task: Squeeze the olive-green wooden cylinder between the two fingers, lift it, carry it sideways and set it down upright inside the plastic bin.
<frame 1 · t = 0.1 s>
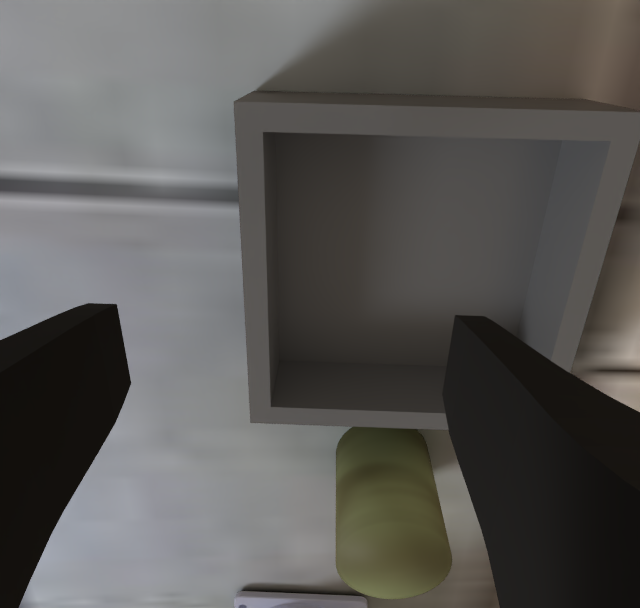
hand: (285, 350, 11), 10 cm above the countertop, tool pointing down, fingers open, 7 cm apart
green cylinder: (381, 454, 25), on the countertop
bin: (402, 249, 20), on the countertop
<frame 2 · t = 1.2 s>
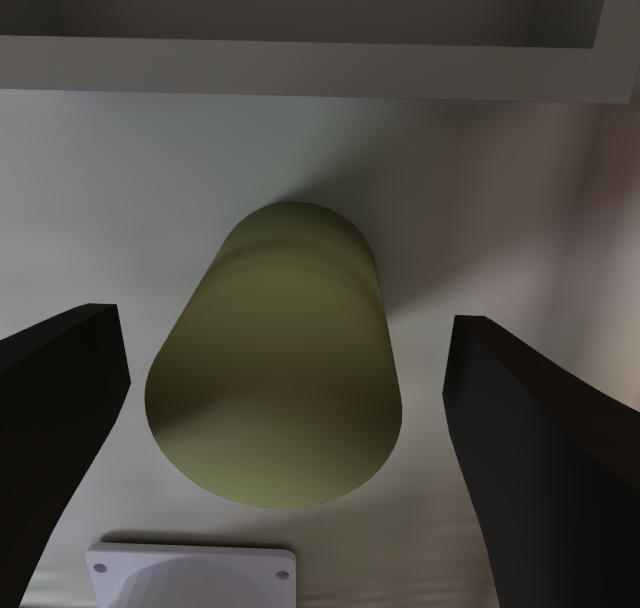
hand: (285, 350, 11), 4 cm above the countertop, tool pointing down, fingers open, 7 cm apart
green cylinder: (296, 281, 14), on the countertop
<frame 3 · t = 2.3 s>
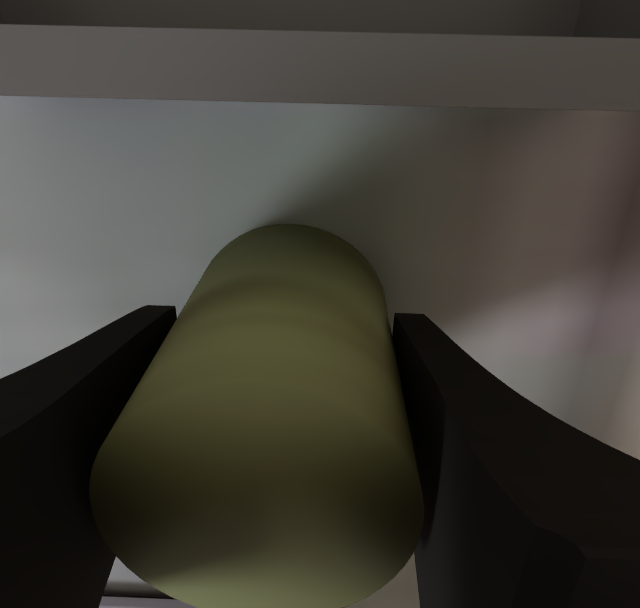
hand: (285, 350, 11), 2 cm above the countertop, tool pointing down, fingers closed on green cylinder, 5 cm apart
green cylinder: (291, 314, 12), on the countertop, touching gripper
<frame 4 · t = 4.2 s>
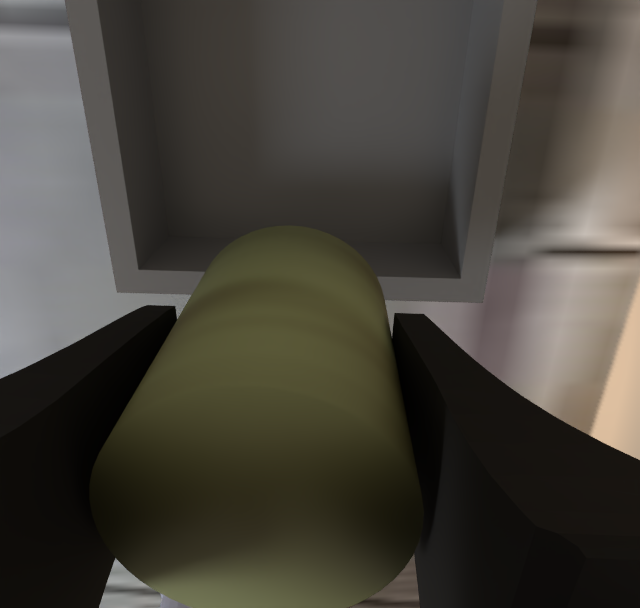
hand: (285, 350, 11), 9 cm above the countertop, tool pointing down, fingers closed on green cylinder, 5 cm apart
green cylinder: (291, 315, 12), point 7 cm above the countertop, touching gripper
bin: (306, 90, 17), on the countertop
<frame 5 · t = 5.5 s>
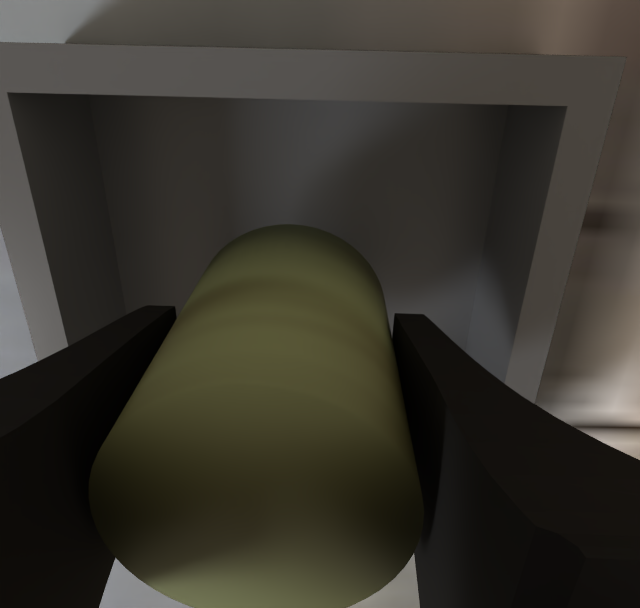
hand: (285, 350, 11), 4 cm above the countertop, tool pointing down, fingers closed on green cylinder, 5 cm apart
green cylinder: (291, 314, 12), point 3 cm above the countertop, touching gripper
bin: (299, 270, 15), on the countertop
when the fingers open (4 cm above the countertop, at t = 6.2 s): green cylinder drops 2 cm, resting on bin.
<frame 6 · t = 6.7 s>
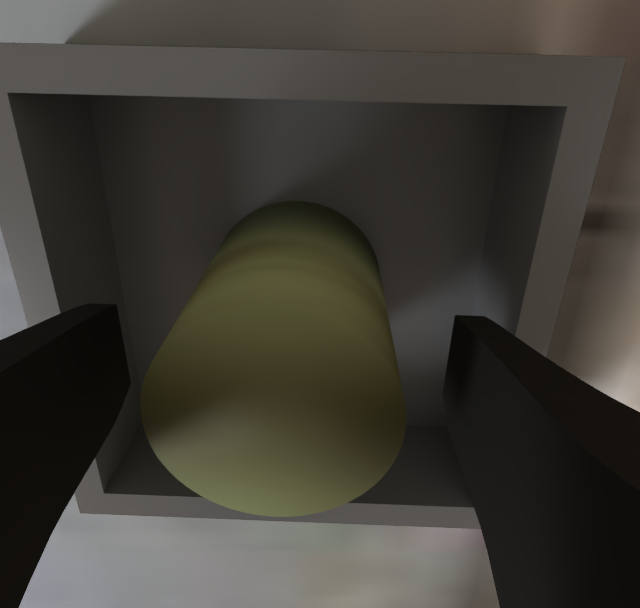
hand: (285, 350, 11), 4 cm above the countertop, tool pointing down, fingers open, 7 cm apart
green cylinder: (297, 281, 14), point 1 cm above the countertop, touching bin
bin: (299, 270, 15), on the countertop
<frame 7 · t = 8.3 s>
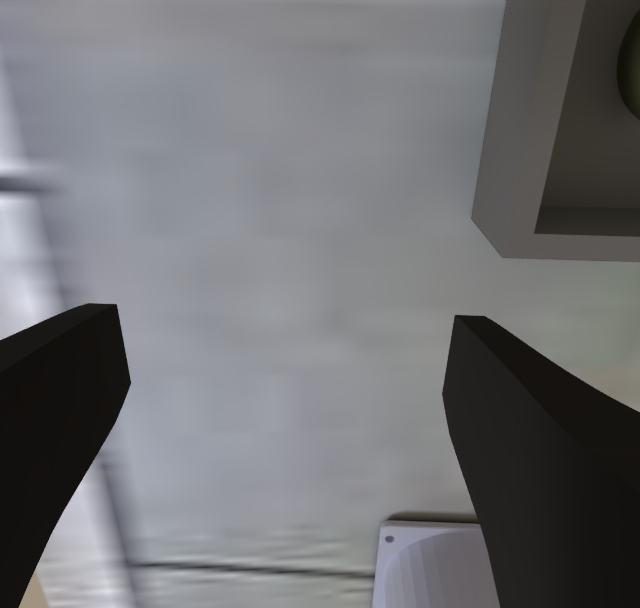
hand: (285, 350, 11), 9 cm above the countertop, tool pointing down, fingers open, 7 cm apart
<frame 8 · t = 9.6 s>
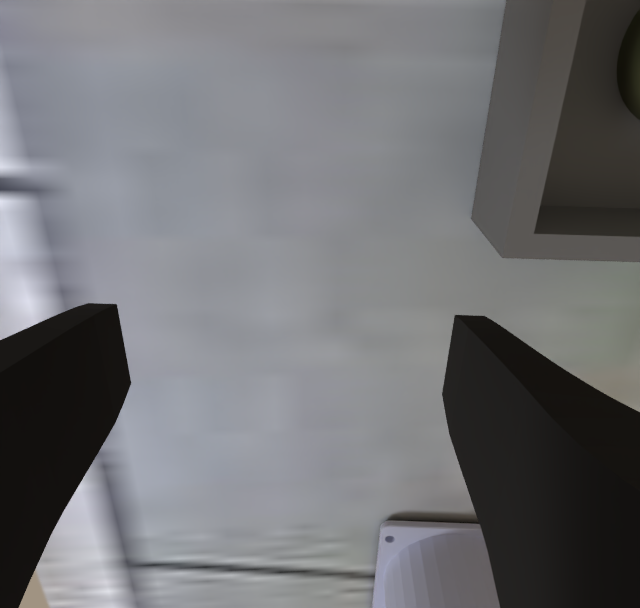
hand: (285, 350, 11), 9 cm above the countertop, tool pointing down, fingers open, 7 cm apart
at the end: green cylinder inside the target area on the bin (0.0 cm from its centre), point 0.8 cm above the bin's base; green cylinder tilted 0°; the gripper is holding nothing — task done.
